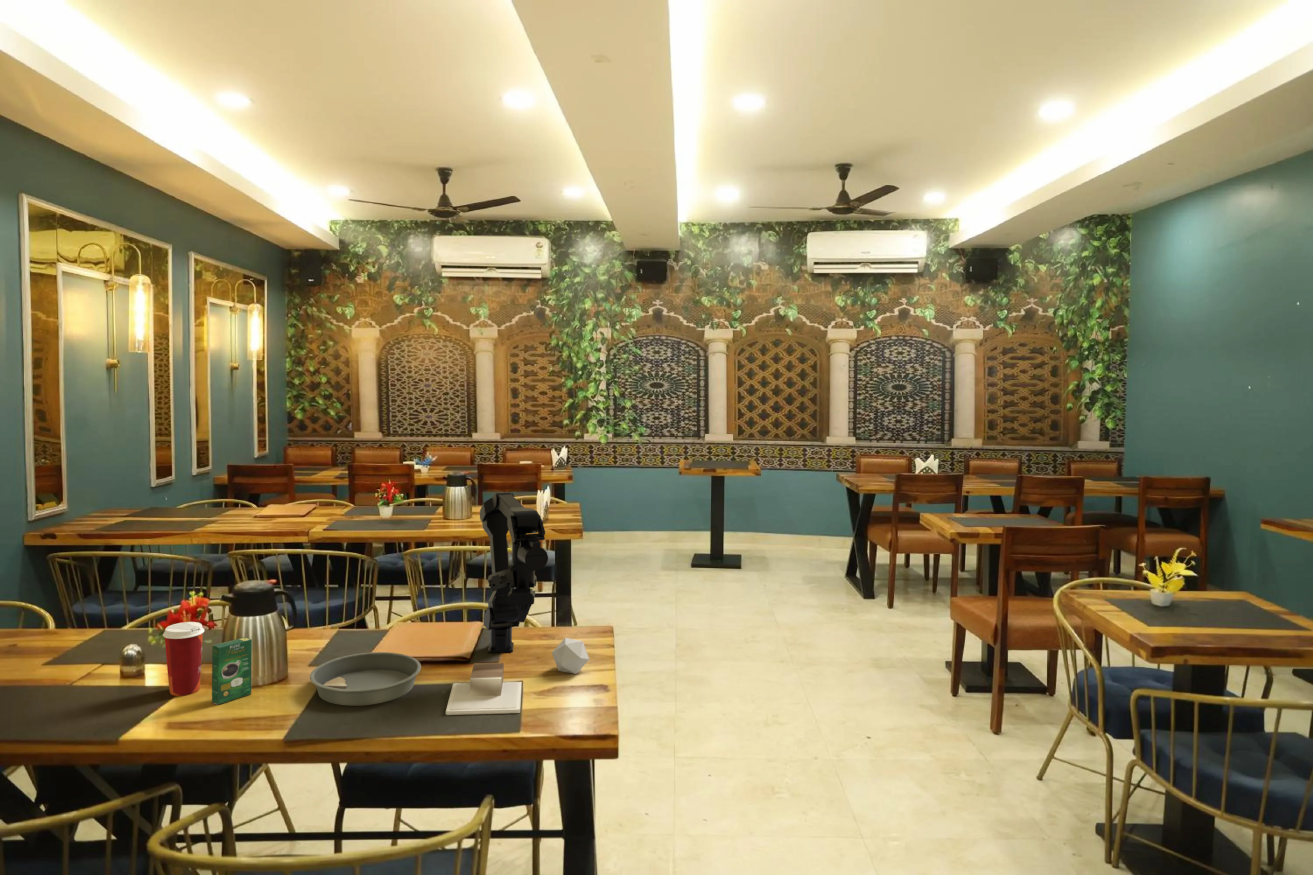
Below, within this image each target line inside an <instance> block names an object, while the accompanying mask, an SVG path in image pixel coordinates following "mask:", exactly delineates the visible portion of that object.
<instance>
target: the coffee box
mask: <svg viewBox="0 0 1313 875" xmlns="http://www.w3.org/2000/svg"><path fill="white" fill-rule="evenodd" d="M211 646H212V647H211V650H212V651H211V653H212V654H211V656H212V657H211V659H212V660H211V667H212V668H211V703H213V704H214V705H221V704H224V703H225V704H226V703H228V702H231V701H234V700H237V699H240V698H243V697H246V696H249V695H252V689H253V688H252V670H253V669H252V663H253V662H252V660H253V658H252V655H253V653H252V652H253V650H252V649H253V640H252V638H249V637H246V636H243V637H241V638H236V639H233V640H227V641H224V642H220V643H219V642H218V643H215V644H212V645H211Z"/></svg>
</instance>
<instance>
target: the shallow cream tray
mask: <svg viewBox="0 0 1313 875" xmlns="http://www.w3.org/2000/svg"><path fill="white" fill-rule="evenodd" d="M522 683H523V682H522V681H507V682H505V681H503V685H502V692H501V695H500V696H470V682H463V683H462V682H461V683H460V682H458V683H457V682H454V683H452V687H451V691H450V694H449V698H448V702H447V706H446V710H445V716H455V715H458V716H459V715H487V714H488V715H493V714H498V715H499V714H520V713H521V700H522Z"/></svg>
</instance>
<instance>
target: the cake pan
mask: <svg viewBox="0 0 1313 875" xmlns="http://www.w3.org/2000/svg"><path fill="white" fill-rule="evenodd" d="M421 670H422V665H421V662H420V661H419V660H417V659H416V658H414V657H413V656H411V655H406V654H403V653H398V652H389V651H388V652H387V651H385V652H384V651H377V652H376V651H375V652H362V653H355V654H350V655H344V656H340V657H336V658H333V659H331V660H329V661H326V662H323V663H321V664H319V665H318V666H317V667H315V668H314V669H313V670H312V671H311V672H310V674H309V679H310V682H311V683H312V684H313V685H314V686H315V687H316V690H317V694H318V696H319V698H320V699H322V700H324V701H326V702H328V703H331V704H335V705H340V706H341V705H342V706H368V705H376V704H382V703H386V702H389V701H393V700H396V699H398V698H401V697H403V696H404V695H407V694H408V693H409V692H410V691H411V690H412V689H413V688H414V685H415V682H416V676H417V675H418V674H419V673H420V672H421ZM337 678H342V679H344V680H345V681H344V684H345V686H346V687H345V688H337V687H331V686H327V685H325V684H327V683H328V682H331V681H333V680H335V679H337Z"/></svg>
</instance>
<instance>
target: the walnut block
mask: <svg viewBox="0 0 1313 875" xmlns="http://www.w3.org/2000/svg"><path fill="white" fill-rule="evenodd" d="M504 665H505V664H504V662H487V663H486V662H483V663H482V662H481V663H480V662H479V663H478V662H476V663H473V666H472V671H471V672H470V673H471V675H470V678H469V683H470V696H500V695H501V692H502V685H503V682H504V673H505V672H504V671H505V670H504Z"/></svg>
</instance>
